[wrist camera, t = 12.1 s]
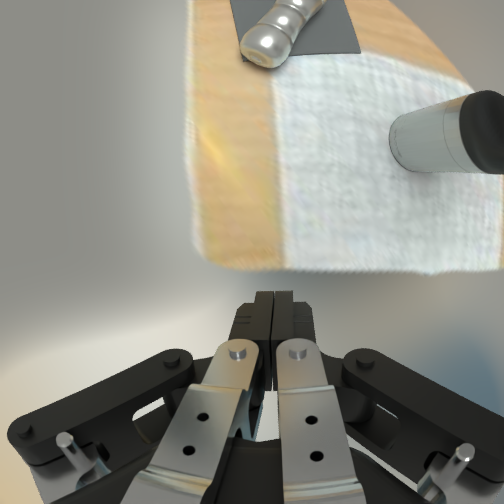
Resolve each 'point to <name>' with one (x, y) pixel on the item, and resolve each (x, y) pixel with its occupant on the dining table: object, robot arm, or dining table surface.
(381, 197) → the dining table surface
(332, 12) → the rubber mat
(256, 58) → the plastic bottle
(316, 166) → the dining table surface
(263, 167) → the dining table surface
